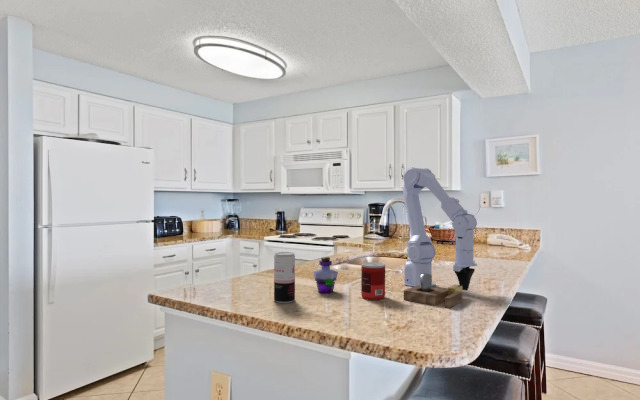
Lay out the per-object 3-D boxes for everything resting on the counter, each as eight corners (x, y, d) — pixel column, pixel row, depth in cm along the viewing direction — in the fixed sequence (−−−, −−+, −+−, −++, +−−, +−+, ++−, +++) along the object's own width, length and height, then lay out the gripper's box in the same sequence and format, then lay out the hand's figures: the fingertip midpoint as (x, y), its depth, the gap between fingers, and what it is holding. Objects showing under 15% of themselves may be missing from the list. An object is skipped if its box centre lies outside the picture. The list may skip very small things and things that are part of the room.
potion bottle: (324, 295, 131) (324, 259, 131) (308, 291, 137) (308, 257, 137) (343, 291, 137) (343, 257, 137) (326, 287, 143) (326, 254, 143)
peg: (417, 298, 127) (418, 274, 127) (424, 297, 130) (424, 273, 129) (427, 301, 124) (427, 276, 124) (433, 299, 127) (434, 274, 127)
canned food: (387, 296, 131) (387, 263, 131) (381, 301, 124) (381, 266, 124) (365, 293, 134) (365, 261, 134) (358, 299, 127) (358, 265, 127)
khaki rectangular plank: (447, 300, 126) (447, 287, 126) (455, 296, 131) (455, 284, 131) (455, 301, 125) (455, 288, 125) (462, 297, 129) (462, 285, 129)
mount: (403, 299, 126) (403, 290, 126) (417, 294, 134) (418, 285, 134) (449, 308, 117) (449, 298, 117) (461, 301, 124) (461, 292, 124)
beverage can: (285, 297, 129) (286, 251, 129) (299, 300, 125) (299, 253, 124) (269, 300, 125) (270, 253, 125) (282, 304, 120) (283, 255, 120)
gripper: (468, 253, 126) (468, 295, 126) (483, 248, 137) (483, 287, 137) (447, 251, 130) (447, 292, 130) (463, 247, 141) (463, 284, 141)
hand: (464, 289), depth 134 cm, fingers closed
